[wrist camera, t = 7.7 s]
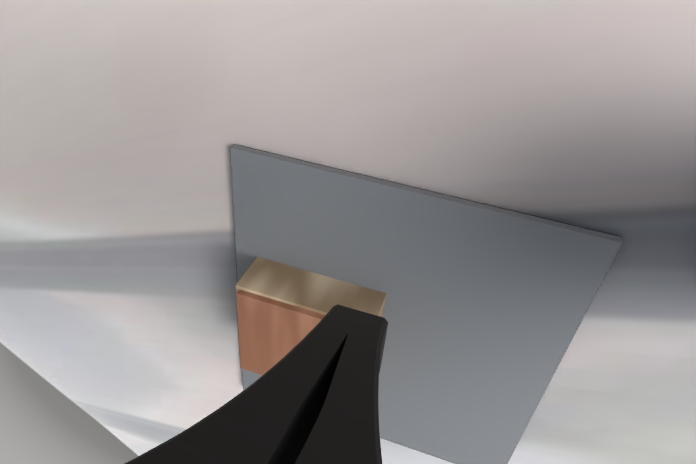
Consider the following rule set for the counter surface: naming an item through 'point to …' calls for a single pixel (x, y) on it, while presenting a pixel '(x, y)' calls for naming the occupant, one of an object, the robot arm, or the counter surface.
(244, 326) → the brown wooden block
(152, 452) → the robot arm
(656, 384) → the counter surface
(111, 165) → the counter surface
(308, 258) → the mat
